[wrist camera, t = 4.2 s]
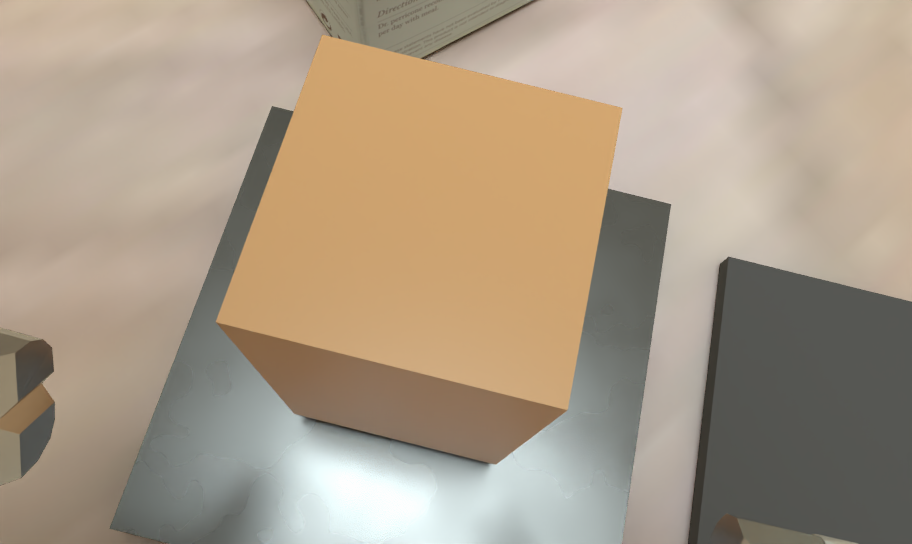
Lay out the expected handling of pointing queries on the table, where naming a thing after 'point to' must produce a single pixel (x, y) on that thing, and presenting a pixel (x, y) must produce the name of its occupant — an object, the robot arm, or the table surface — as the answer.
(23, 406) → the robot arm
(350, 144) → the tan rectangular pillar
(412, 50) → the supplement box
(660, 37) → the table surface
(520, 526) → the post stand
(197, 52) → the table surface
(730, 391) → the mat
